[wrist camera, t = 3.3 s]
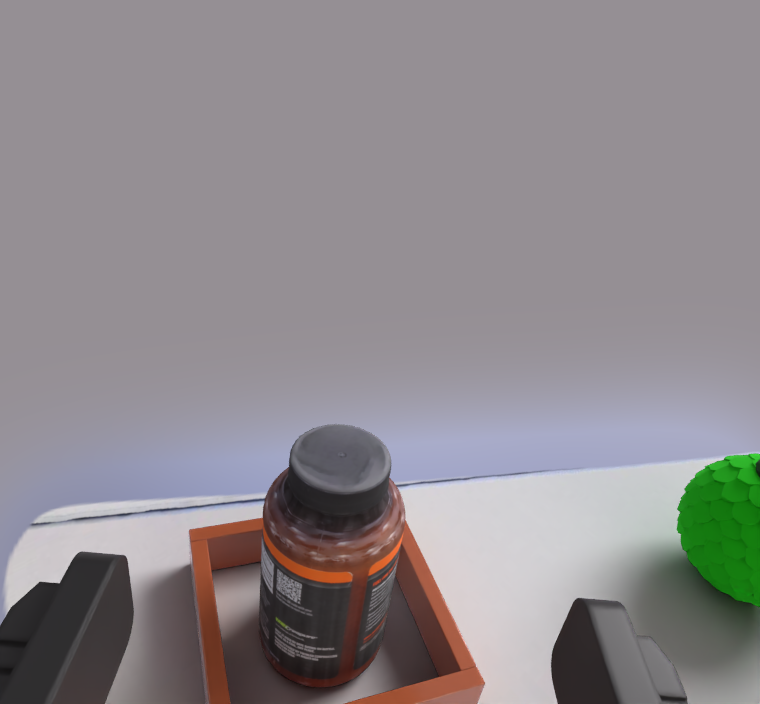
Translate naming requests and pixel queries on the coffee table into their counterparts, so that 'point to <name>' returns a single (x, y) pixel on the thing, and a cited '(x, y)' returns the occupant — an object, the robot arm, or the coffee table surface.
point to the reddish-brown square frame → (433, 618)
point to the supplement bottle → (329, 556)
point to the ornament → (725, 525)
